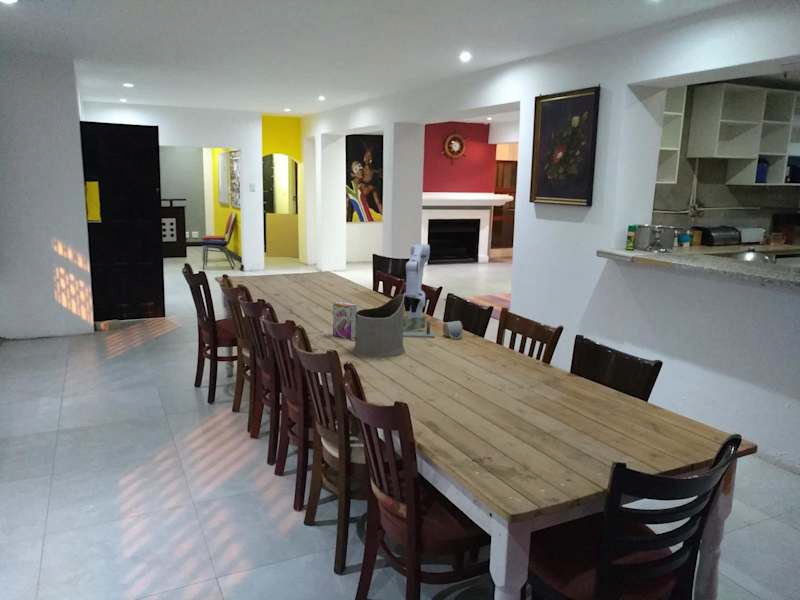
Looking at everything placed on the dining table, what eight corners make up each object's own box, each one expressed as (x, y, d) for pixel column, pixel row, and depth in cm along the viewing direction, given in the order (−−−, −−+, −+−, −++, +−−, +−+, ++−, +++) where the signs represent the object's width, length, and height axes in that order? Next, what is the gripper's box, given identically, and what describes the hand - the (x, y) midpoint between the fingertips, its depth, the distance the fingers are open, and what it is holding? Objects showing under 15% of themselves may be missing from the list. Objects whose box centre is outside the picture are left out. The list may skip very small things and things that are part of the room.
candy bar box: (332, 336, 297) (332, 302, 294) (338, 334, 301) (338, 301, 298) (350, 339, 291) (351, 305, 288) (357, 337, 296) (357, 304, 292)
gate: (401, 331, 304) (402, 319, 302) (400, 330, 305) (400, 319, 304) (424, 328, 311) (425, 317, 310) (423, 327, 312) (423, 316, 311)
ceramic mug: (441, 335, 304) (442, 320, 303) (456, 334, 307) (457, 319, 305) (449, 340, 294) (450, 325, 293) (465, 339, 297) (466, 324, 295)
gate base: (393, 332, 306) (394, 319, 305) (433, 334, 306) (434, 320, 304) (393, 336, 298) (393, 322, 297) (434, 337, 298) (434, 323, 297)
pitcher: (411, 356, 265) (413, 300, 260) (339, 360, 256) (339, 302, 252) (397, 343, 287) (398, 290, 282) (330, 346, 278) (330, 292, 273)
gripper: (398, 284, 314) (397, 310, 315) (410, 285, 301) (409, 312, 302) (411, 284, 317) (410, 311, 318) (423, 285, 304) (422, 313, 304)
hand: (410, 311), depth 310 cm, fingers open, 7 cm apart
